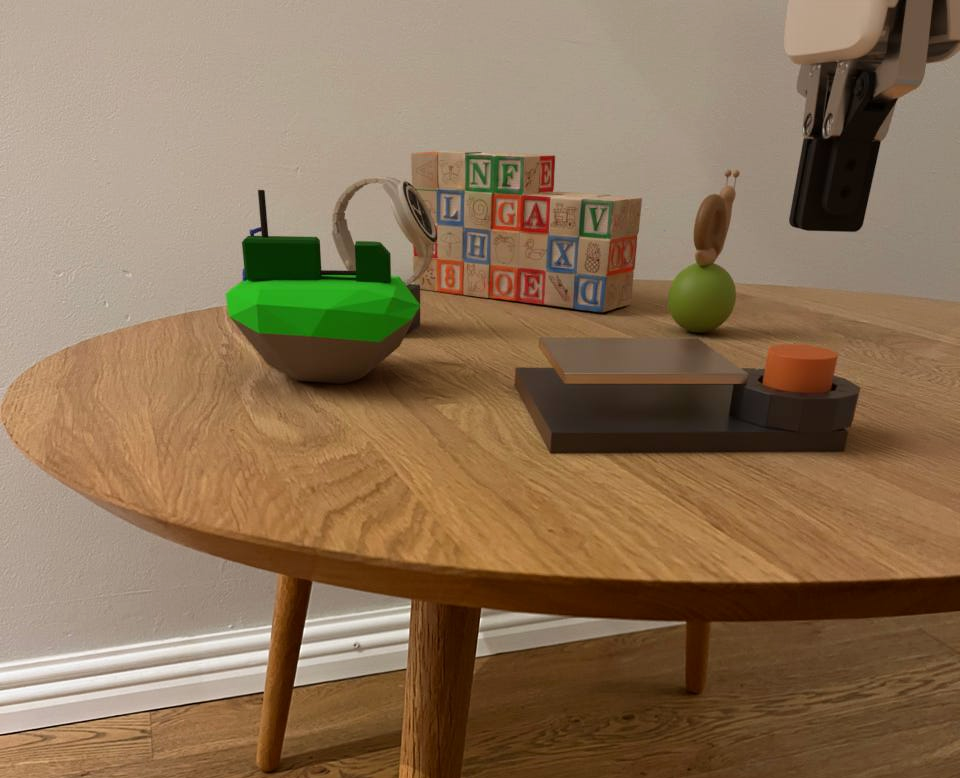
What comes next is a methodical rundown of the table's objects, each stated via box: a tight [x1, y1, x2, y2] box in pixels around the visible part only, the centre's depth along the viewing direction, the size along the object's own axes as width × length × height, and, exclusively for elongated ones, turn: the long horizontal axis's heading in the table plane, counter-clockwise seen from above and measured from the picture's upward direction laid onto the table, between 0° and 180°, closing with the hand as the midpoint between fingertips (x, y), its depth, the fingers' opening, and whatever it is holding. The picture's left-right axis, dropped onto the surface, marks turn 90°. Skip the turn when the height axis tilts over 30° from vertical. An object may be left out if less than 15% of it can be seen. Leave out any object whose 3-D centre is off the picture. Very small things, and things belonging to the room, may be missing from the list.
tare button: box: [762, 343, 839, 393], centre depth 50 cm, size 4×4×2 cm
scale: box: [514, 367, 861, 455], centre depth 54 cm, size 17×14×3 cm
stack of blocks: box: [410, 150, 643, 313], centre depth 87 cm, size 21×6×12 cm, turn 57°
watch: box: [331, 176, 437, 336], centre depth 72 cm, size 6×8×11 cm
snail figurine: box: [667, 169, 741, 334], centre depth 75 cm, size 5×6×12 cm
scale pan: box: [538, 336, 749, 385], centre depth 53 cm, size 10×9×1 cm
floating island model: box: [225, 189, 421, 385], centre depth 58 cm, size 12×12×11 cm
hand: (824, 228), depth 47 cm, fingers closed
